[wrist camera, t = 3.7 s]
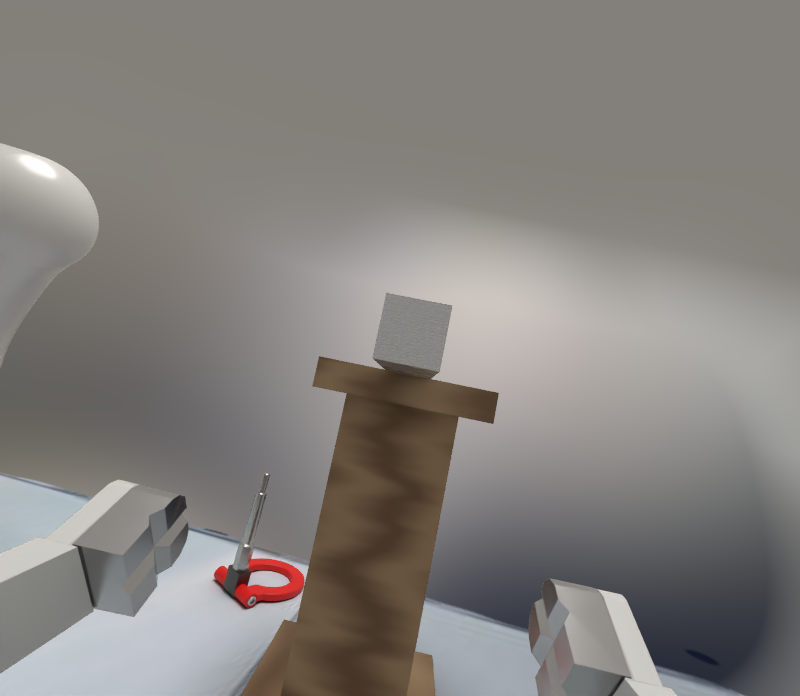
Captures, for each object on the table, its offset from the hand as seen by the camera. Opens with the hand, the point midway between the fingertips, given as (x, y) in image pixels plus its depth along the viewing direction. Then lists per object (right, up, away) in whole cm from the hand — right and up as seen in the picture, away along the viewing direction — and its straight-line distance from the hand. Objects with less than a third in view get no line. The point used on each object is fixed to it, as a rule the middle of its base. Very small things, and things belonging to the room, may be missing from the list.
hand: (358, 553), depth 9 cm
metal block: (+1, +3, +19) cm, 20 cm away
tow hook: (-15, -23, +36) cm, 46 cm away
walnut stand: (-4, -23, +20) cm, 31 cm away
